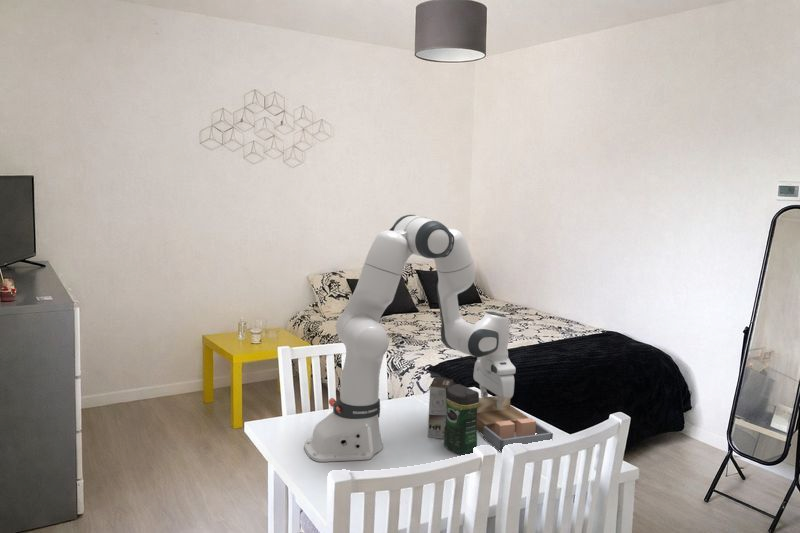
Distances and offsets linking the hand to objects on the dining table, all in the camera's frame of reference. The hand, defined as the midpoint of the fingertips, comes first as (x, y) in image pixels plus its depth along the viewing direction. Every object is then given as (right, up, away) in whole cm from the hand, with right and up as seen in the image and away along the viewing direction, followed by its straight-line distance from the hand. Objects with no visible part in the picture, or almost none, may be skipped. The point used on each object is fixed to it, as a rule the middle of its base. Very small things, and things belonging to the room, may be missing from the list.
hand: (491, 402), depth 205 cm
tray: (+6, -9, -14) cm, 18 cm away
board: (+1, -7, -2) cm, 7 cm away
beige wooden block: (0, -2, 0) cm, 2 cm away
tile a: (+1, -5, -13) cm, 14 cm away
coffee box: (-17, -7, -10) cm, 21 cm away
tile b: (+8, -5, -11) cm, 14 cm away
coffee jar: (-12, -9, -21) cm, 26 cm away
